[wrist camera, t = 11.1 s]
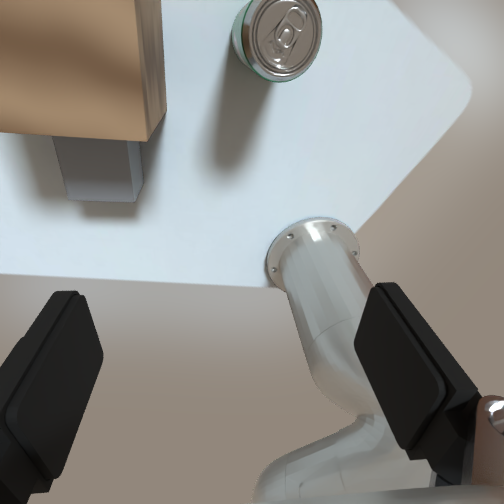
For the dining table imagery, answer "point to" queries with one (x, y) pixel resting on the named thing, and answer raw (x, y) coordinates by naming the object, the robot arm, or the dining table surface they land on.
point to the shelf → (82, 68)
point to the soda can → (277, 37)
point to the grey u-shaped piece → (100, 168)
